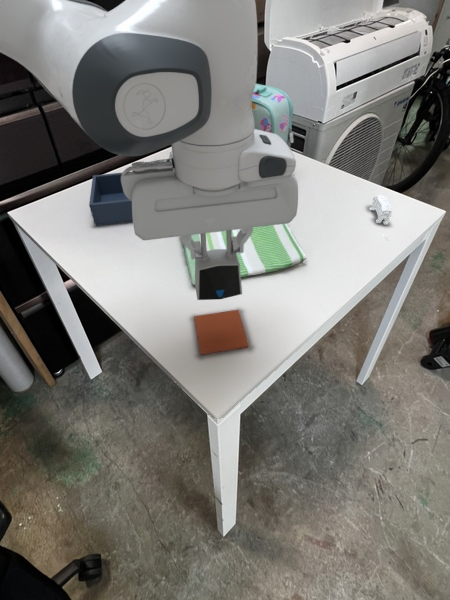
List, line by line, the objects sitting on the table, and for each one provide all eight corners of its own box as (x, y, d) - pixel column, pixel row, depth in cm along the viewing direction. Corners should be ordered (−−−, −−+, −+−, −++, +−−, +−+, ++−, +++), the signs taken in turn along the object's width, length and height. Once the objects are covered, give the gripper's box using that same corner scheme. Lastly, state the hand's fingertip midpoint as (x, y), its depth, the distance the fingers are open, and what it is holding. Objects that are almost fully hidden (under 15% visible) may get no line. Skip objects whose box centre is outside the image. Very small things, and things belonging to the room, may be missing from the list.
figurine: (377, 226, 84) (383, 208, 81) (367, 206, 89) (372, 189, 86) (388, 225, 84) (394, 208, 81) (377, 206, 89) (383, 188, 86)
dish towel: (179, 233, 83) (178, 223, 81) (279, 219, 86) (280, 208, 84) (192, 288, 71) (191, 277, 69) (308, 268, 74) (310, 258, 72)
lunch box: (295, 173, 101) (306, 86, 86) (272, 188, 96) (279, 98, 80) (222, 145, 114) (221, 65, 98) (199, 157, 109) (193, 74, 93)
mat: (200, 354, 60) (200, 352, 60) (194, 318, 66) (194, 316, 65) (248, 347, 61) (248, 345, 61) (238, 311, 67) (238, 309, 66)
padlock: (237, 277, 58) (238, 189, 47) (242, 296, 55) (245, 207, 44) (194, 282, 57) (185, 195, 46) (197, 302, 54) (189, 214, 43)
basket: (95, 226, 86) (89, 205, 81) (98, 195, 95) (92, 175, 91) (155, 219, 87) (151, 198, 83) (152, 189, 96) (148, 169, 92)
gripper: (116, 178, 37) (140, 279, 47) (310, 159, 40) (294, 258, 50) (117, 151, 42) (139, 248, 52) (292, 135, 44) (281, 231, 54)
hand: (217, 253), depth 51 cm, fingers closed on padlock, 4 cm apart
